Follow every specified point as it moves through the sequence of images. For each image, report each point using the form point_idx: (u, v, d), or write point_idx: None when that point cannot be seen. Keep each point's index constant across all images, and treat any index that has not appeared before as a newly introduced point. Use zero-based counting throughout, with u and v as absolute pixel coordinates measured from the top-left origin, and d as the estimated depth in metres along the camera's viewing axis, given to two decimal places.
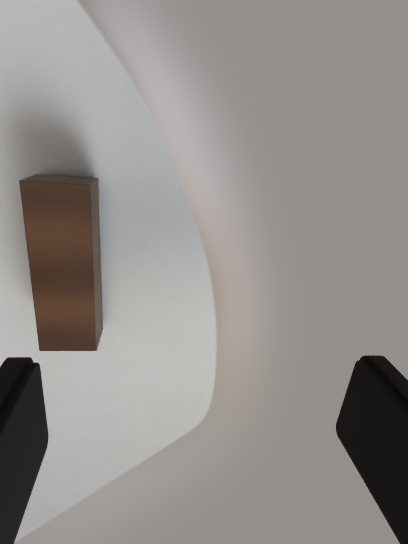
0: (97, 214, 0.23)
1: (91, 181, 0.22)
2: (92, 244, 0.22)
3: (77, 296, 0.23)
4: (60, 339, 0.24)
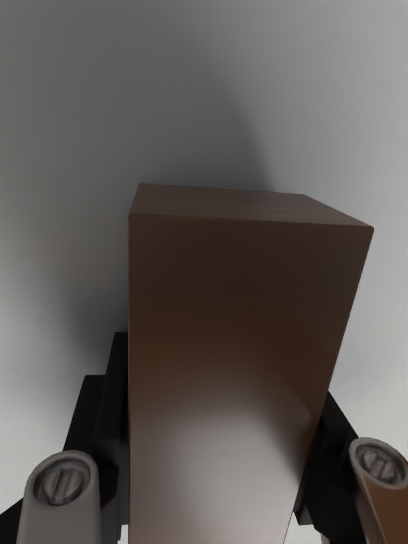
0: None
1: (326, 207, 0.07)
2: (321, 400, 0.07)
3: (247, 523, 0.08)
4: None
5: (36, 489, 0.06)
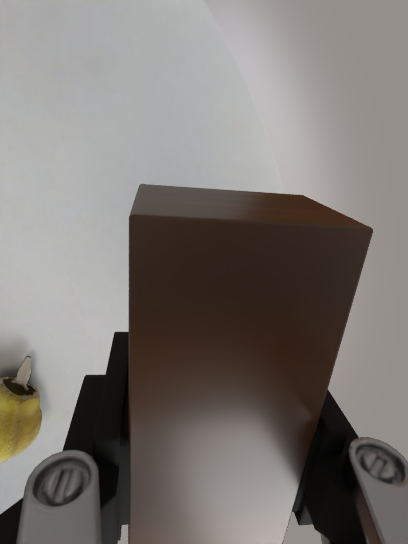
0: None
1: (326, 208, 0.07)
2: (320, 399, 0.07)
3: (247, 522, 0.08)
4: None
5: (36, 489, 0.06)
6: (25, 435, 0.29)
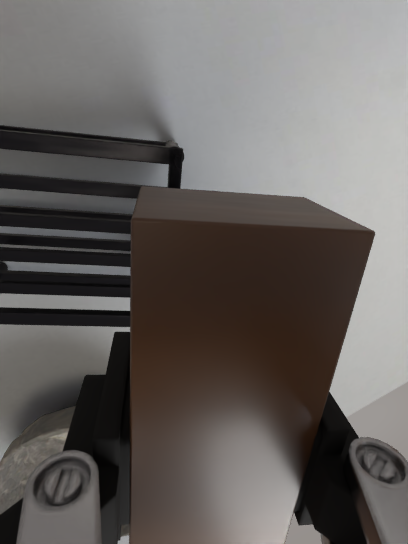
0: None
1: (327, 211, 0.07)
2: (321, 402, 0.07)
3: (248, 524, 0.08)
4: None
5: (36, 489, 0.06)
6: None
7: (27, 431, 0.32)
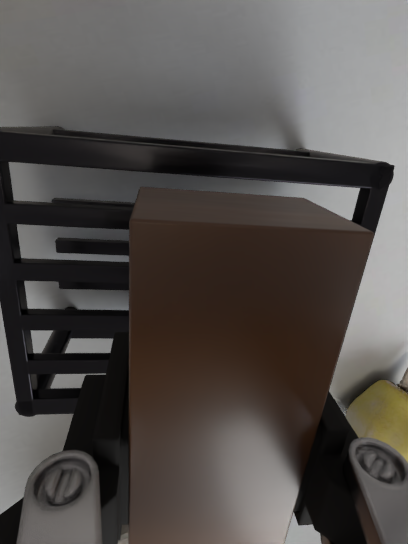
0: None
1: (327, 211, 0.07)
2: (321, 403, 0.07)
3: (247, 525, 0.08)
4: None
5: (36, 489, 0.06)
6: None
7: None
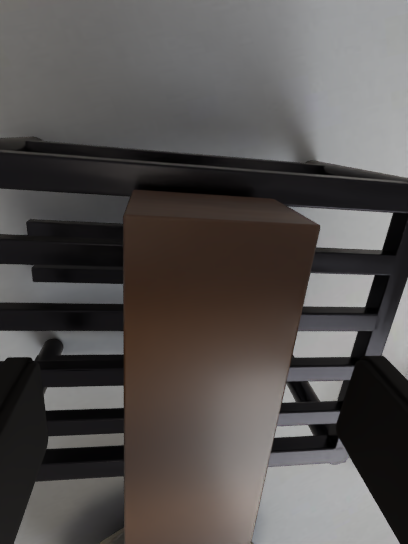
0: None
1: (288, 209, 0.08)
2: None
3: (227, 481, 0.10)
4: None
5: None
6: None
7: None
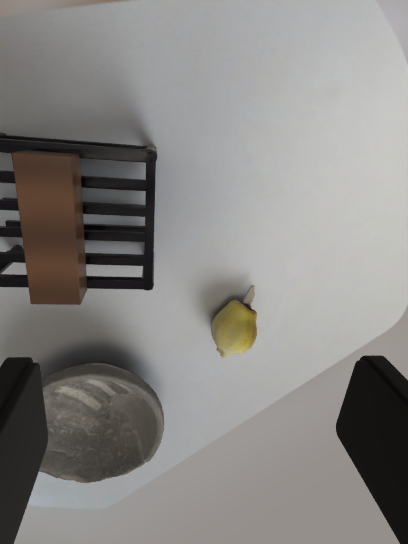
0: (79, 184, 0.27)
1: (72, 155, 0.26)
2: (74, 208, 0.26)
3: (62, 254, 0.27)
4: (48, 293, 0.28)
5: None
6: (255, 336, 0.43)
7: (42, 382, 0.40)
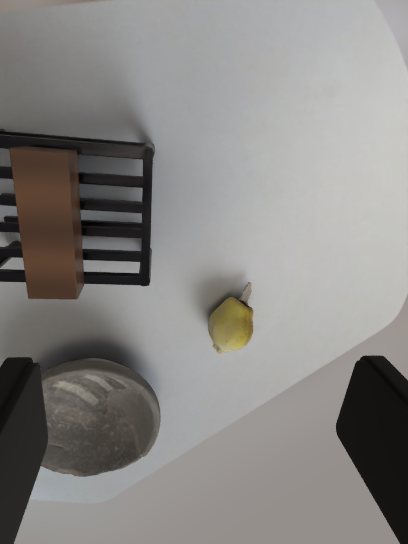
0: (76, 181, 0.27)
1: (70, 151, 0.26)
2: (71, 204, 0.26)
3: (59, 250, 0.27)
4: (46, 288, 0.28)
5: None
6: (251, 333, 0.43)
7: None
